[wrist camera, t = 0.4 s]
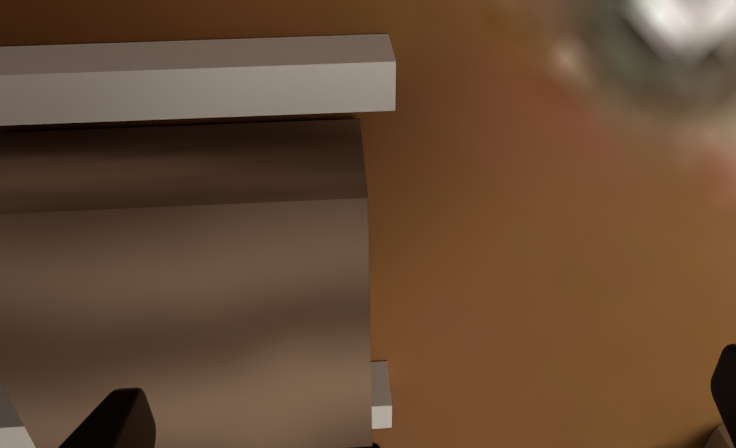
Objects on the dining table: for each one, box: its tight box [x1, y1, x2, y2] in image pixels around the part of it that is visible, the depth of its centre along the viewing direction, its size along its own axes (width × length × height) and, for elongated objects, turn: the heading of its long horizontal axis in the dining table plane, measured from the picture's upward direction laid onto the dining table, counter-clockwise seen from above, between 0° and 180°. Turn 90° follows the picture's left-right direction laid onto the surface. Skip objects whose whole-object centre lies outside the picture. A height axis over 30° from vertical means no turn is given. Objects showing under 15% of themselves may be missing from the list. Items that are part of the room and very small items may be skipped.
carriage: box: [0, 119, 372, 448], centre depth 21 cm, size 11×12×5 cm
